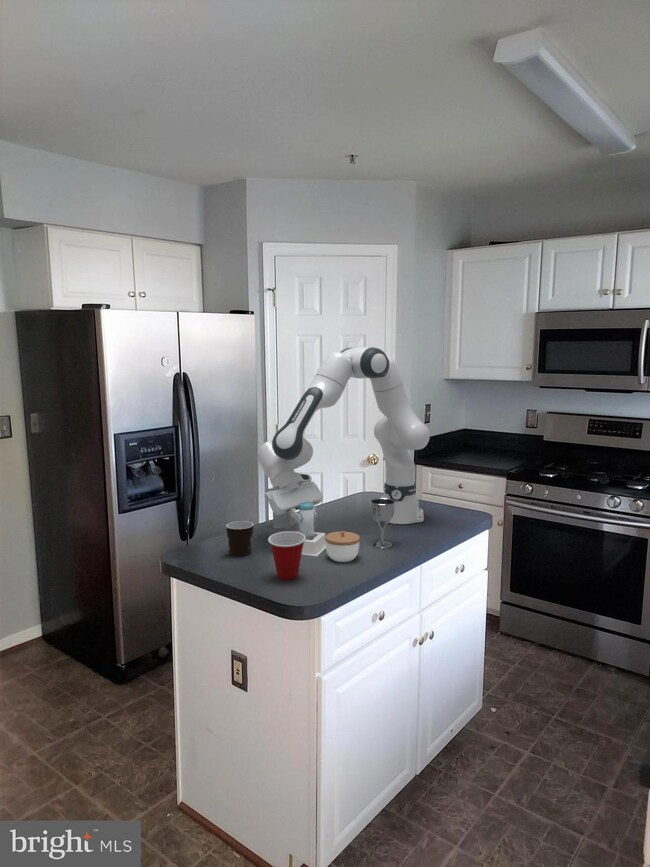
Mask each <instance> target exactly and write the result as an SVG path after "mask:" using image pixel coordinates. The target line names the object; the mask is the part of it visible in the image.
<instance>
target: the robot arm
mask: <svg viewBox="0 0 650 867" xmlns="http://www.w3.org/2000/svg"><path fill="white" fill-rule="evenodd" d="M351 378H355V379H361V380H362V379H369V380H370V383H371V388H372V391H373V394H374V399H375V400H376V401H375V402H376V404H377V408H378V409H379V412H380V413H382V414H383V416H384V417H382V418H379V419H378V420H377V422H375V425H374V426H373V427H374V428H373V435H374V438H375V439H376V440H377V442H378V444H380V448H381V450H382V454H383V459H384V464H385V482H384V484H383V485H384V486H383V491H384V492H383V495H381V496H380V497H379V498H386V499H392V500H394V501H395V509H394V514H393V517H392V519H391V520H390V521H389V523H388V524H394V525H395V524H396V525H409V524H411V525H412V524H415V523H423V521H425V520H424V519H425V518H424V509H422V508H421V507H419V499H418V496H417V494H416V491H417V486H416V481H415V479H416V476H415V475H416V473H415V472H416V465H415V462H414V460H413V458H411V456H410V454H409V451H418V450H422V449H424V448H425V447H426V446H428V443H429V441H430V439H431V438H430V437H431V436H430V435H431V434H430V430H429V427H428V426H427V425H426V424H424V423H423V422H422V420H421V419H419V417H418V416H417V415H416V413H415V411H414V410H413V408H412V406H411V405H410V402H409V399H408V397H407V394H406V390H405V386H404V384H403V378H402V376H401V374H400V370H399V369H398V366H397V365H396V362H395V360H394V359H393V358H392V357H391V356H388V355H387V354H386V353H385V352H384V351H383V350H382V349H380V348H378V347H374V346H373V347H368V346H357V347H347V348H345V349H344V348H343V350H341V351H333V352H331V353H329V354H328V355H327V356H326V358H325V359H324V361H323V362H321V365H320V366H319V368H318V370H317V372H316V374H315V375H314V377H313V379H312V381H311V383H310V385H309V387H308V388H307V389H306V391H305V392H304V393H303V394H302V396H301V398H300V399H299V401H298V402H297V404H296V406H295V408H294V409H293V411H292V412H291V414H290V416H289V418H288V420H287V421H286V423H285V424H283V426H282V427H280V429H278V431H277V432H276V433H275V434H274V435H273V437H272V440H268V441H266V442H264V443H263V444H262V445H261V446H260V447H259V448H258V450H257V454H256V455H257V460H258V463H259V465H260V467H261V468H262V471H263V472H264V474H265V475H266V476H267V477H268V478H269V481H270V484H271V485H272V487H273V488H272V487H269V488H267V489H266V490H265V492H264V494H265V497H266V499H267V501H268V504H269V506H270V509H271V510H272V514H273V513H274V514H276V515H281V514H284V513H289V514H290V515H291V516H292V517H294V518H295V521H296V522H297V523H299V522H301V521H302V520H303V517H302V515H299V512H297V510H298V511H299V504H300V503H304V502H312V503H314V519H315V518H316V517H317V516H318V514H317V512H316V506H317V505H319V504H320V503H321V502H322V501H323V500H324V496H323V493H322V491H321V490H320V488H319V487H318V485H317V483H315V482H314V481H312V480H313V478H312V476H311V475H310V474H307V473H302V472H296V471H295V470H296V469H298V468H300V467H302V466H304V465H306V464H308V463H309V462H310V461H311V459H312V457H313V452H314V449H313V446H312V444H311V443H310V442H309V441H308V440H307V439H306V438H305V437H304V434H305V430H306V429H307V427H308V425H309V423H310V421H311V420H312V418H313V417H314V415H315V413H316V412H317V411H318V410H321V409H327V408H331V407H333V406H335V405H336V404H337V402H338V401H339V400H340V398H341V396H342V395H343V392H344V391H345V389H346V386H347V384H348V381H349V380H350V379H351Z"/></svg>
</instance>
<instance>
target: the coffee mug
mask: <svg viewBox="0 0 650 867" xmlns="http://www.w3.org/2000/svg"><path fill="white" fill-rule="evenodd" d="M225 528H226V529H225V530H226V534H227V542H228V550H229V555H230V556H232V557H237V558H239V557H241V558H242V557H247V556H249V555H250V554H251V553H252V544H253V533H254V523H253V522H251V521H247V520H239V521H236V520H235V521H232V522H229V523H227V524H226V525H225Z"/></svg>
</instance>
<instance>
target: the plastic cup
mask: <svg viewBox="0 0 650 867" xmlns="http://www.w3.org/2000/svg"><path fill="white" fill-rule="evenodd" d="M267 538H268V540H267V541H268V544H270V546H271V551H272V554H273V562H274V565H275V566H274V567H275V568H276V570H275V572H276V575H277V578H278V579H280V580H281V581H282V580H284V581H292V580H295V579H297V577H298V575H299V570H300V566H301V559H302V555H303V554H302V548H303V544H304V541H305V539H306V537H305V535H304V534H302V533H299V532H296V531H290V530H289V531H287V530H286V531H280V532H279V531H278V532H275V533H274V534H271V535H270V536H269V537H267Z"/></svg>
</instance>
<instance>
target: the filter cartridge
mask: <svg viewBox="0 0 650 867" xmlns="http://www.w3.org/2000/svg"><path fill="white" fill-rule="evenodd" d="M298 514H299V515H302V517H303V520H302V521H301V522H298V530H299V533H302V534H304V535H305V537H306V540H313V539H314V532H315V518H314V503H312V502H304V503H300V504H299V510H298Z"/></svg>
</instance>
